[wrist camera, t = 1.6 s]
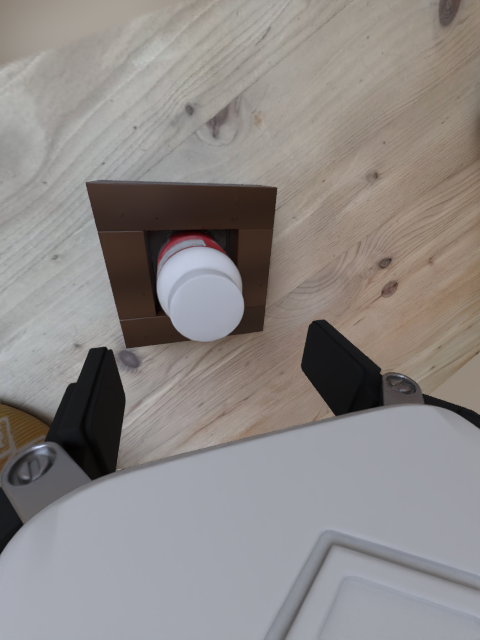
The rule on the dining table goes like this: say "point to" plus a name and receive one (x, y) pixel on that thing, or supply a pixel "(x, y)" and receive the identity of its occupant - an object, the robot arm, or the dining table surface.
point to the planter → (18, 433)
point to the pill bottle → (198, 286)
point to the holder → (179, 214)
